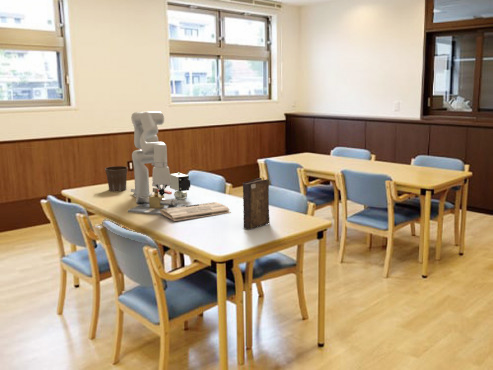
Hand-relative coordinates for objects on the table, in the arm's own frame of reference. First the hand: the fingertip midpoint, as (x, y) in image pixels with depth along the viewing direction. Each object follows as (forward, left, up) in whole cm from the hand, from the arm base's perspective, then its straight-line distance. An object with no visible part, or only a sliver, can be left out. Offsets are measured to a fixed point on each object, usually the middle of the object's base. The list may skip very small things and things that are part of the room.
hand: (161, 195), depth 285 cm
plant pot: (-62, +48, -11) cm, 79 cm away
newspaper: (+20, +4, -10) cm, 22 cm away
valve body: (-7, +7, -9) cm, 14 cm away
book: (+61, -9, -11) cm, 62 cm away
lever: (-2, +4, +1) cm, 5 cm away
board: (-7, +7, -10) cm, 15 cm away
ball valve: (-6, +37, -11) cm, 39 cm away
